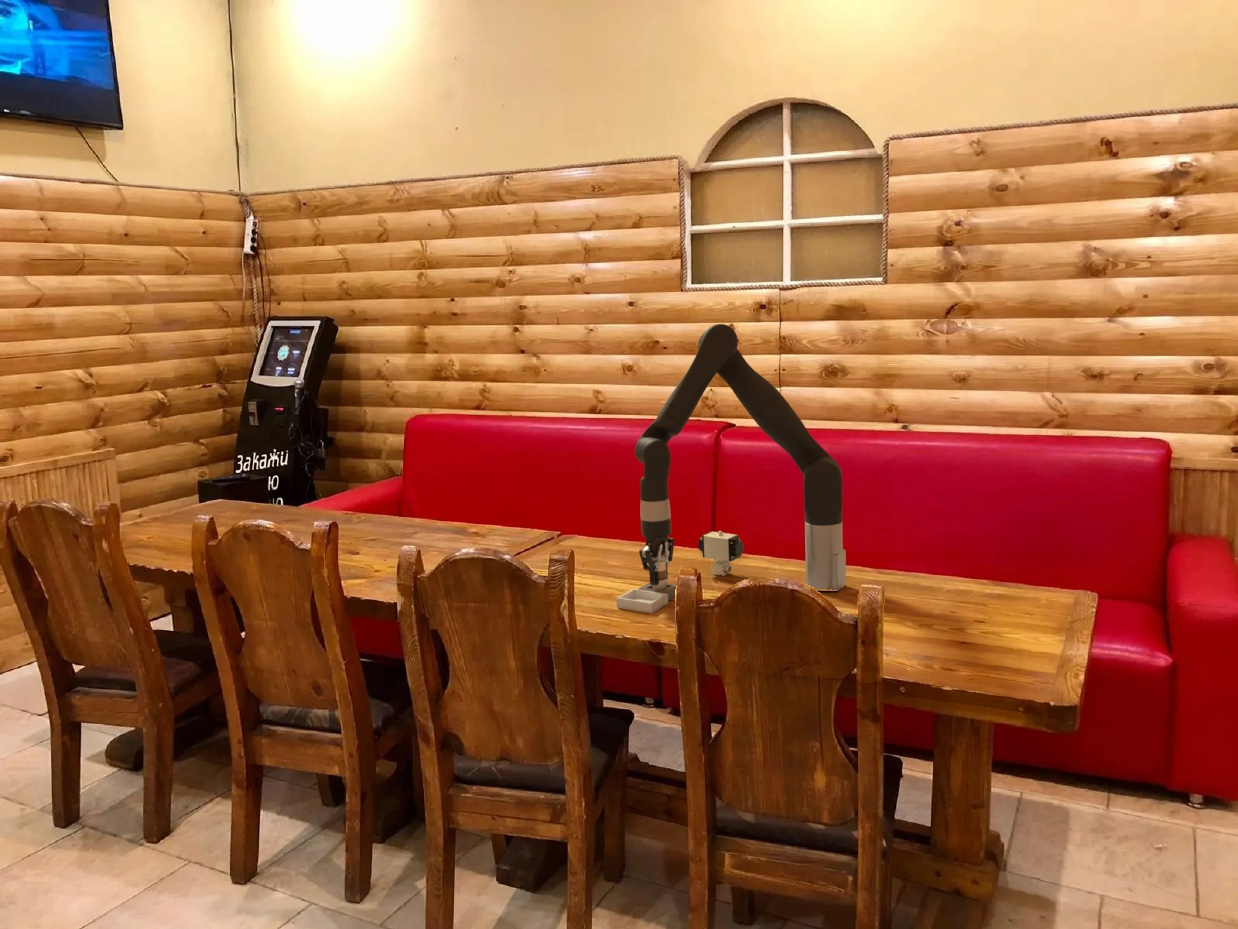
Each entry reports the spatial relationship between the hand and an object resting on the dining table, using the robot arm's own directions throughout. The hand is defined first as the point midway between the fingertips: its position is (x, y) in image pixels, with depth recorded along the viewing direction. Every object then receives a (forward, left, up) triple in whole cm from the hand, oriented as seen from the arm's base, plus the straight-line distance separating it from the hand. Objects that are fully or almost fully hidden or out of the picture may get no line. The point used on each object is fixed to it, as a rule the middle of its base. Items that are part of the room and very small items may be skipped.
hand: (659, 582), depth 240 cm
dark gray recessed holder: (0, 0, -4) cm, 4 cm away
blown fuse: (0, 0, -3) cm, 3 cm away
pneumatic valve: (-6, -23, -4) cm, 25 cm away
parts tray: (0, +8, -4) cm, 9 cm away
